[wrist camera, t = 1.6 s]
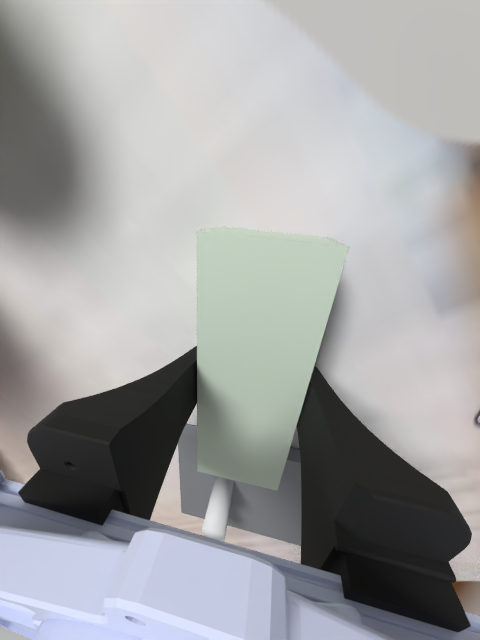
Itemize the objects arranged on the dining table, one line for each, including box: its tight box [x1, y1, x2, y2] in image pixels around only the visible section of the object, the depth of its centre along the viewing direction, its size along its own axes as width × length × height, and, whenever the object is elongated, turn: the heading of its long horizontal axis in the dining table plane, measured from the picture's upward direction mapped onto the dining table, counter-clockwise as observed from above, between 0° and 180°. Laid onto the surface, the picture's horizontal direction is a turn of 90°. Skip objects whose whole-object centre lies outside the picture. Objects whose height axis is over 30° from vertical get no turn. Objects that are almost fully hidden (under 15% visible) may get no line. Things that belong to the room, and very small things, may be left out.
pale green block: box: [197, 226, 349, 491], centre depth 12 cm, size 14×5×4 cm, turn 175°
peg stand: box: [178, 424, 301, 546], centre depth 17 cm, size 18×12×4 cm, turn 85°
